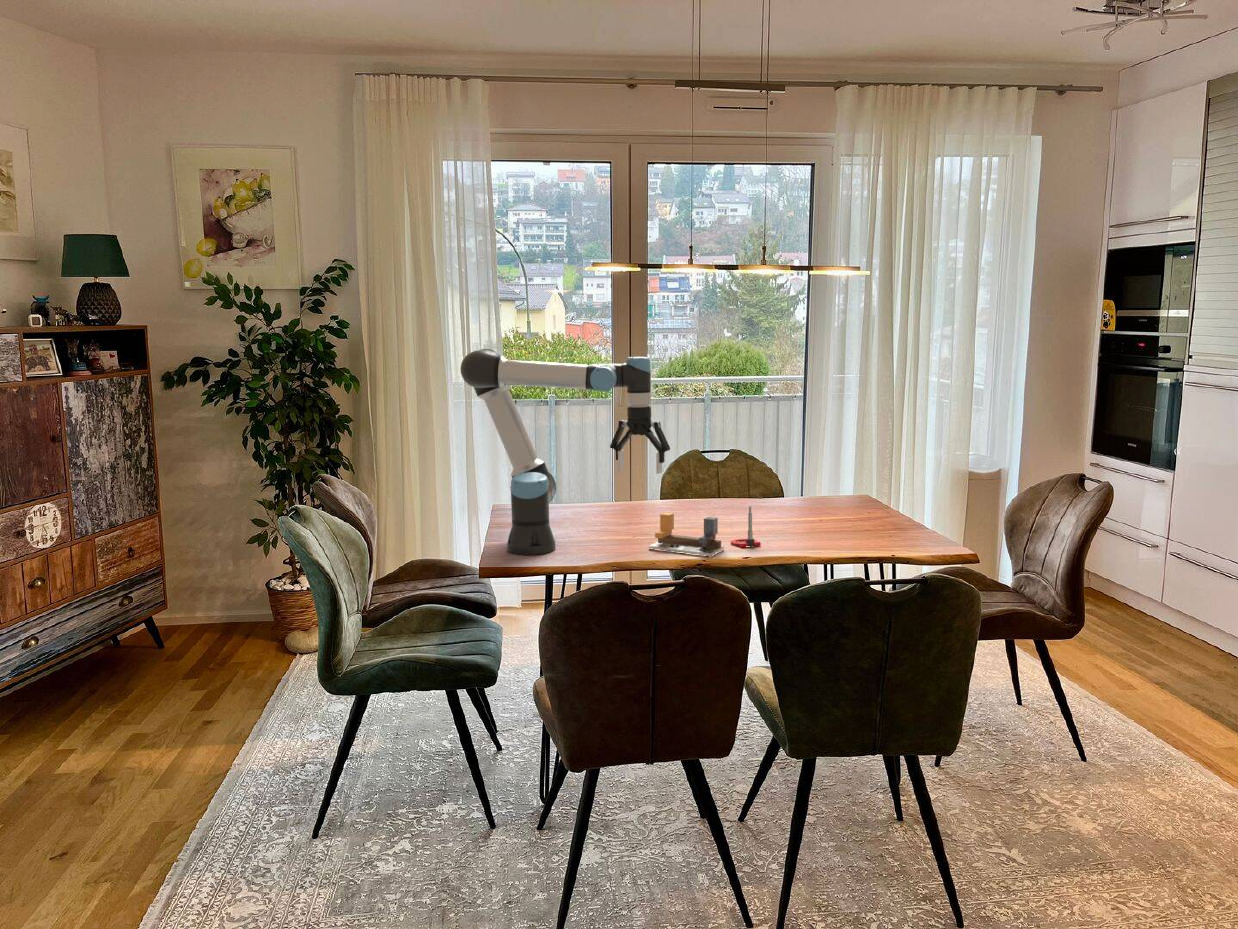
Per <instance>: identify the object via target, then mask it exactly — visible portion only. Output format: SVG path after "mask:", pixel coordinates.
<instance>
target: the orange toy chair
mask: <svg viewBox="0 0 1238 929" xmlns="http://www.w3.org/2000/svg"><path fill="white" fill-rule="evenodd" d="M674 524H675V513H673V512H663V513H660V514H659V525H660V526H659V530H657V531H656V532H654V539H657V542H658V543H662V538H664V537H666V536H668V535H673V530H674V529H675V527H674V526H675V525H674Z"/></svg>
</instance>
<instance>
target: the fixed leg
mask: <svg viewBox="0 0 1238 929" xmlns="http://www.w3.org/2000/svg"><path fill="white" fill-rule="evenodd" d="M718 519H719V518H718V517H715V516H713V517H712V516H707V517H705V518H703V535H702V536H700V537H698V538H699V543H702V548H703V549H705V548H706V544H707V543H709V542H711V541H713V540H717V539H716V535H717V534H718V533H719V532H718V527H719V526H718V524H719V522H718V521H719V520H718Z"/></svg>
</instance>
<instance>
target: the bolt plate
mask: <svg viewBox="0 0 1238 929" xmlns="http://www.w3.org/2000/svg"><path fill="white" fill-rule="evenodd" d="M699 538H700V537H695V536H694V537H693V536H689V535H688V536H686V535H680V534H679V535H677V534H671V535H668V536H666V537H664V538H662V543H658V541H656V542H654V543H652V544H650V545H648V548H653V549H660V550H666V551H674V552H684V553H691V554H699V555H706V556H712V555H713V554H715V553H716V552H719V551H721V550H722V549H724V548H725V546H723V545H722V539H714V540H713V541H711V542H709V543H707V544H706V548H705V549H703V548H702V543H699ZM648 548H647V549H648ZM721 552H722V551H721ZM719 553H720V552H719ZM712 557H713V556H712Z"/></svg>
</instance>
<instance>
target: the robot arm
mask: <svg viewBox="0 0 1238 929" xmlns="http://www.w3.org/2000/svg"><path fill="white" fill-rule="evenodd" d="M651 372H652V371H651V360H650V358H649V357H646V356H628V357H627V358H626V362H624V363H592V364H579V363H563V362H548V361H547V362H546V361H529V360H515V359H506V358H505V356H504V355H503V356H502V354H500V353H499V352H497V351H496V350H494V349H490V348H483V349H478V350H474V351H471V352H469V353H467V355H466V356H464V358H463V359H462V361H461V363H460V375H461V377H462V379H463V381H464V382H465V383H466V384H467V385H468V386H469V387H472V388H473V390H474V392H475V394H476V396H477V398H479V399H481V400H482V401H484V403H485V406H486V407H487V410H488V413H489V415H490V417H491V420H492V421H493V424H494V426H495V428H496V432H497V433H498V435H499V438H500V441H501V443H502V446H503V448H504V450H505V452H506V455H507V458H508V460H509V462H510V465H511V467H512V472H511V474H510V477H511V480H510V489H509V490H510V500H511V501H510V502H511V504H510V505H511V527H510V532H509V535H508V538H507V542H506V549H507V552H509V553H510V554H514V555H521V556H522V555H523V556H530V555H531V556H533V555H543V554H548V553H551V552H554V551H555V550H556V539H555V538H554V534H553V531H552V528H551V526H550V525H551V524H550V503H551V502H552V501H553V499H554V497H555V495H556V492H557V483H556V480H555V477H554V476H553V475H552V473H551V472H549V470H548V468H547V464H546V462H545V461H544V460H542V459H540V458H538V456H537V453H536V451H535V449H534V446H533V444H532V442H531V441H532V440H531V439H530V437H529V434H528V432H527V429H526V426H525V424H524V422H523V420H522V417H521V415H520V412H519V411H518V408H517V406H516V403H515V401H514V398H513V397H512V396H513V395H512V394H511V392H510V388H511V386H524V387H525V386H526V387H540V388H541V387H542V388H557V389H558V388H560V389H572V390H573V389H574V390H576V389H577V390H588V391H597V392H601V393H603V392H604V393H606V392H609V391H611V390H612V389H614V388H626V389H627V391H626V394H627V395H626V396H627V397H626V398H627V399H626V404H627V407H626V410H627V412H626V413H627V416H626V417H627V420H625V419H621V420H618V424H617V425H618V426H617V428H616V429H617V430H616V432H615V434H614V435H613V439H612V441H611V443H610V445H609V448H610V449H613V450H614V451H615V460H616V461H617V466H618V467H617V469H618V472H622V471H625V450H624V449H623V448H624V446H625V445H626V443H627V442H628V441H629V440H630V439H631V437H632V436H638V435H639V436H645V437H646V438H647V439H648V441H649V442H650V443H651V444H652V445H653V446H654V448H655V450H656V451H657V452H656V453H655V454H656V455H655V457H656V458H655V460H656V461H655V462H656V463H655V464H656V465H655V467H656V468H655V470H656V471H655V472H656V474H657V475H659V474H661V473H663V463H664V462H665V459H666V458H665V454H666V452H668V451H670V450H671V447H670V445H669V443H668V440H667V437H666V436H665V433H664V431H663V429H662V426H661V422H660V421H659V420H657V421H652V407H651V404H652V403H651V402H652V399H651V398H652V394H651V393H652V392H651V390H652V389H651V388H652V387H651V386H652V385H651V384H652V383H651V382H652V381H651V379H652V374H651ZM626 427H627V428H628V430H627V431H626V432H625V434H624V436H622V435H623V433H624V430H625V428H626ZM651 428H652V429H654V432H655V434H656V435H655V434H654V432H653V431H652V429H651ZM621 437H622V438H621Z"/></svg>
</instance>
